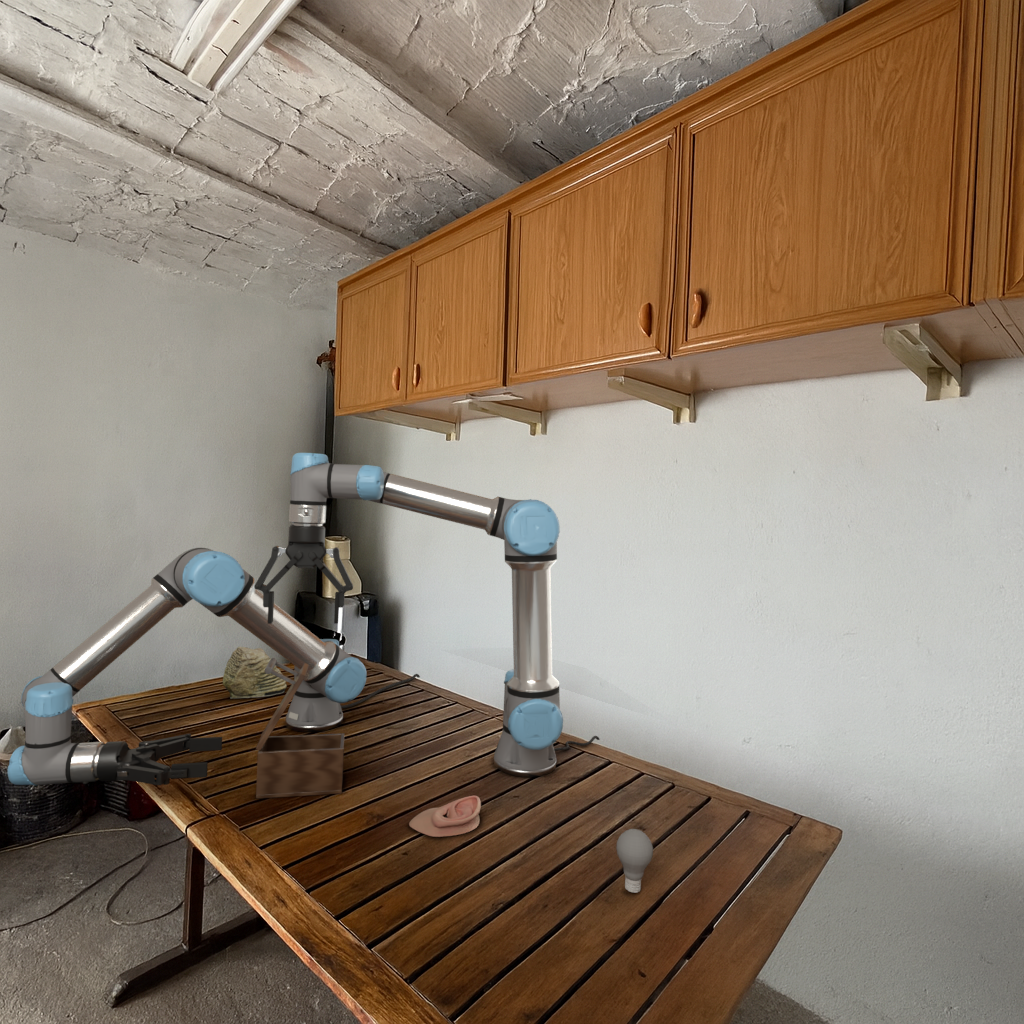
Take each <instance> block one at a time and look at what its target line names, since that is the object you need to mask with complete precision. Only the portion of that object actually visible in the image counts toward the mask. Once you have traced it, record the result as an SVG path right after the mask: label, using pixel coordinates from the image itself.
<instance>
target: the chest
mask: <svg viewBox="0 0 1024 1024" xmlns="http://www.w3.org/2000/svg"><path fill="white" fill-rule="evenodd" d="M345 735H346V734H345V733H323V734H322V733H321V734H320V733H319V734H296V735H292V734H291V735H272V736H271V735H270V736H269V737H268V739H267V740H266V742H265V744H264V745H263V747H262V749H261V750H260V751H259V750H257V763H256V785H255V787H256V788H255V789H256V791H255V799H273V798H286V797H287V798H289V797H302V796H303V797H305V796H319V795H321V796H322V795H323V796H324V795H335V794H336V795H338V794H343V780H344V759H345V758H344V757H345V753H344V752H345Z"/></svg>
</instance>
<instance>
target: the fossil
mask: <svg viewBox="0 0 1024 1024" xmlns="http://www.w3.org/2000/svg"><path fill="white" fill-rule="evenodd" d="M270 659H272V658H271V657H270V656H269V655H268V654H267V653H266V652H265V650H264V649H263V648H260V647H258V648H251V647H247V646H246V647H245V646H238V647H237V648H236V649H235V650H233V651H232V653H231V656H230V657H229V659H228V660H227V663H226V666H225V668H224V671H223V675H222V676H223V677H222V685H223V687H224V688H225V690H226V691H228V693H229V698H230V699H250V698H264V697H271V696H275V695H281V694H284V693H285V691H286V689H287V687H288V686H287V681H285V680H283V679H281V678H279V677H277V676H275V675H273V674H271V673H270V674H266V673H265V668H266V667H267V665H268V663H269V661H270ZM273 670H274V671H276V672H278V673H280V674H282V675H283V673H282V672H281V669H280V668H279V667H277V666H276V665H275V667H274V669H273Z"/></svg>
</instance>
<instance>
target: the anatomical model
mask: <svg viewBox="0 0 1024 1024" xmlns="http://www.w3.org/2000/svg"><path fill="white" fill-rule="evenodd" d="M481 807H482V802H481V799H480V797H479V796H478V795H469V796H464V797H462V798H457V799H456V800H453V801H451V802H449V803H446V804H444V805H441V806H439V807H431V808H427V809H426V810H423V811H421V812H420V813H418V814H416V815H415V816H414V817H413V818H412V819H411V820H409V823H408V825H409V827H410V828H411V829H412V830H415V831H417V832H419V833H421V834H423V835H425V836H428V837H433V838H441V837H442V838H443V837H452V836H458V835H463V834H466V833H469V832H472V831H473V830H475V829H477V828H478V826H480V822H481V820H480V815H479V814H480V812H481Z"/></svg>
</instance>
